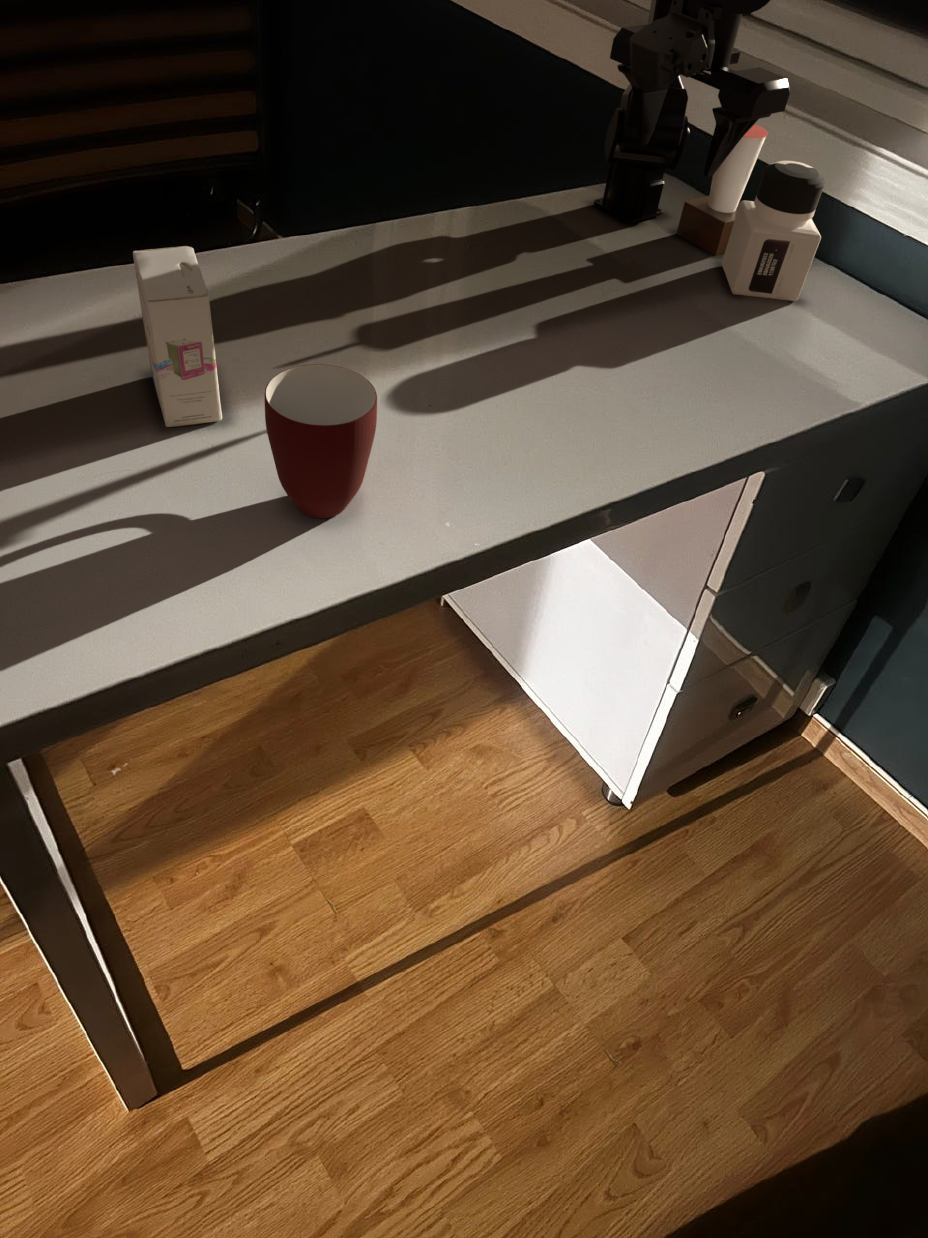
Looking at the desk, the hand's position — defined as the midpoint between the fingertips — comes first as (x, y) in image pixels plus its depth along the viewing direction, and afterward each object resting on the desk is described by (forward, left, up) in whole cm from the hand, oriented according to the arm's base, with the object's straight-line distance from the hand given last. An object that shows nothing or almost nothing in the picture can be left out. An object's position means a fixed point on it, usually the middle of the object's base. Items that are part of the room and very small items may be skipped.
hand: (674, 159), depth 101 cm
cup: (-4, +16, -9) cm, 19 cm away
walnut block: (-4, +16, -13) cm, 21 cm away
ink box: (-4, -55, -13) cm, 57 cm away
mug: (+13, -53, -13) cm, 56 cm away
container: (+7, +12, -13) cm, 19 cm away
